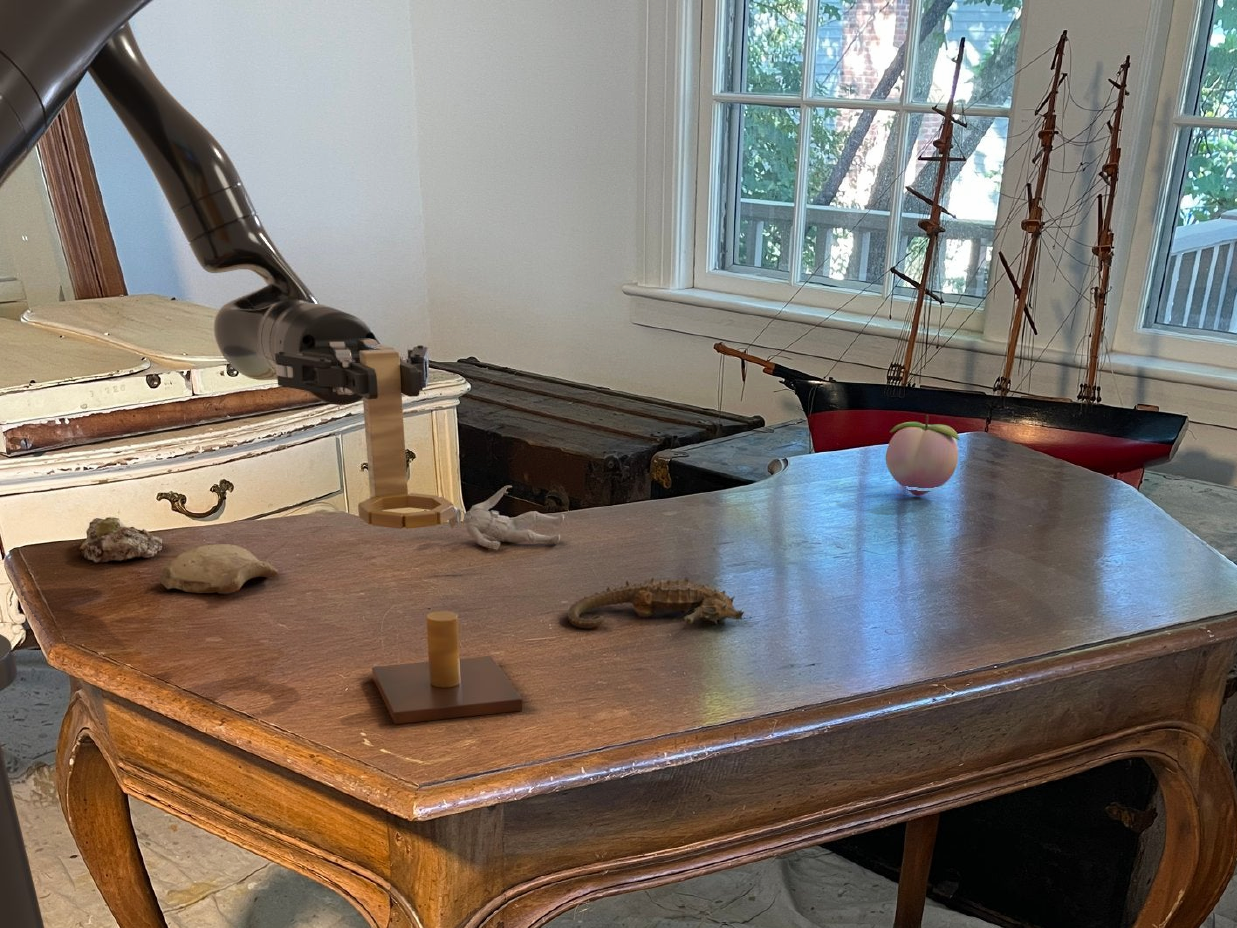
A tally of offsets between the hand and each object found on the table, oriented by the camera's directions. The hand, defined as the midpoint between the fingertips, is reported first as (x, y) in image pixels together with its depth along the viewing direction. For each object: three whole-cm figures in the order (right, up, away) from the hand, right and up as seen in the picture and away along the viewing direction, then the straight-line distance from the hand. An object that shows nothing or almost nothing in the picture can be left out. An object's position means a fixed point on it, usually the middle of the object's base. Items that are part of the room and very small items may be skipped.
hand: (394, 383), depth 101 cm
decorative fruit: (+55, +11, +67) cm, 87 cm away
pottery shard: (-21, -10, +26) cm, 35 cm away
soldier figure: (+4, -2, +42) cm, 42 cm away
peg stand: (+4, -24, +2) cm, 24 cm away
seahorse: (+21, -15, +20) cm, 33 cm away
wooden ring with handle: (0, -9, +4) cm, 10 cm away
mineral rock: (-35, -5, +34) cm, 49 cm away
